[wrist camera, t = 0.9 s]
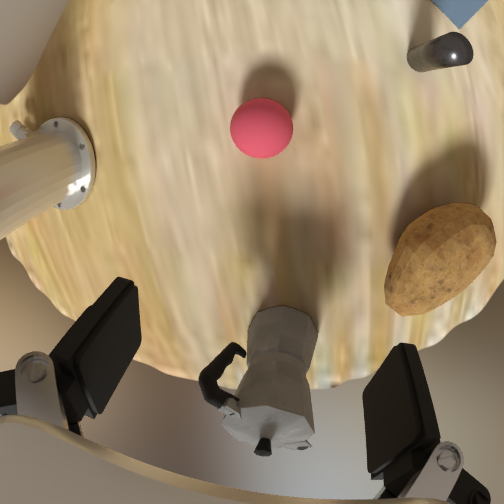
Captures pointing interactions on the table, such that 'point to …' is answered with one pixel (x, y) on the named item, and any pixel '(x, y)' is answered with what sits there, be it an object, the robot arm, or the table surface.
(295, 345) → the coffeepot
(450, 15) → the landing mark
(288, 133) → the ball
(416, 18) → the table surface
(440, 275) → the potato
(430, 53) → the post
